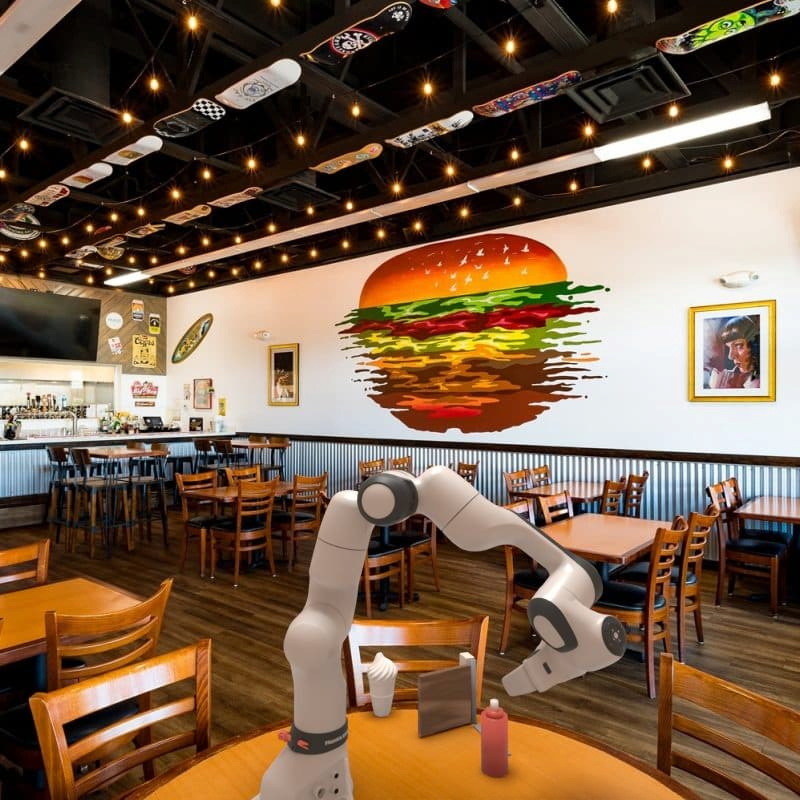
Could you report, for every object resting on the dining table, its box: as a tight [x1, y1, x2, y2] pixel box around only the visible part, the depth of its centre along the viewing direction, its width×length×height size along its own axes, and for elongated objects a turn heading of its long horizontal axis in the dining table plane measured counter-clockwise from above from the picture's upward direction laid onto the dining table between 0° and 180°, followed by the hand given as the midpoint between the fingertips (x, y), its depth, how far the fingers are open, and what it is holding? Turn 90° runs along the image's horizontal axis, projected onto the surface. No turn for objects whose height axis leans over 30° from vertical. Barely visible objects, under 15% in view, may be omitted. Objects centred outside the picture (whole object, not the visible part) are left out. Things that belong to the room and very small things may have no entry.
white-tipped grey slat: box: [459, 651, 512, 757], centre depth 153 cm, size 2×22×16 cm, turn 21°
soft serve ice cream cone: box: [366, 652, 398, 718], centre depth 163 cm, size 8×8×16 cm
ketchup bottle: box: [480, 698, 509, 778], centre depth 137 cm, size 6×6×15 cm
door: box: [417, 664, 471, 737], centre depth 155 cm, size 3×15×14 cm, turn 119°
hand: (521, 671), depth 132 cm, fingers open, 8 cm apart
